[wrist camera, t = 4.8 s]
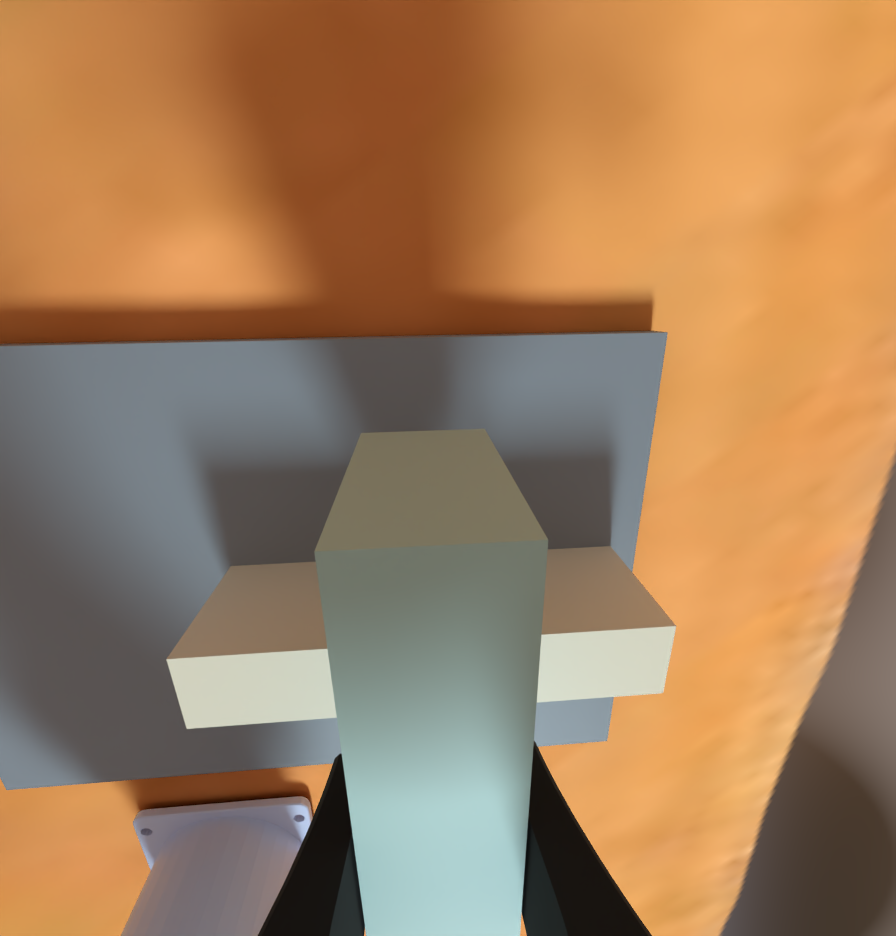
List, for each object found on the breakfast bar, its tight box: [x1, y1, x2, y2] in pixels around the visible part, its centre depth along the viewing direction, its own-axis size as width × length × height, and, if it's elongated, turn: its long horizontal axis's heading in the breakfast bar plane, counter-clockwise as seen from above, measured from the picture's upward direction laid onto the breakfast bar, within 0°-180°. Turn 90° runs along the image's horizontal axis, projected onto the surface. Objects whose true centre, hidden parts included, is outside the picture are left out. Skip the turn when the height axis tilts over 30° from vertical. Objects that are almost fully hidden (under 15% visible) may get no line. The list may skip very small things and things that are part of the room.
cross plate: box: [314, 429, 548, 936], centre depth 11 cm, size 14×3×6 cm, turn 1°
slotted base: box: [0, 331, 676, 790], centre depth 15 cm, size 18×26×6 cm
